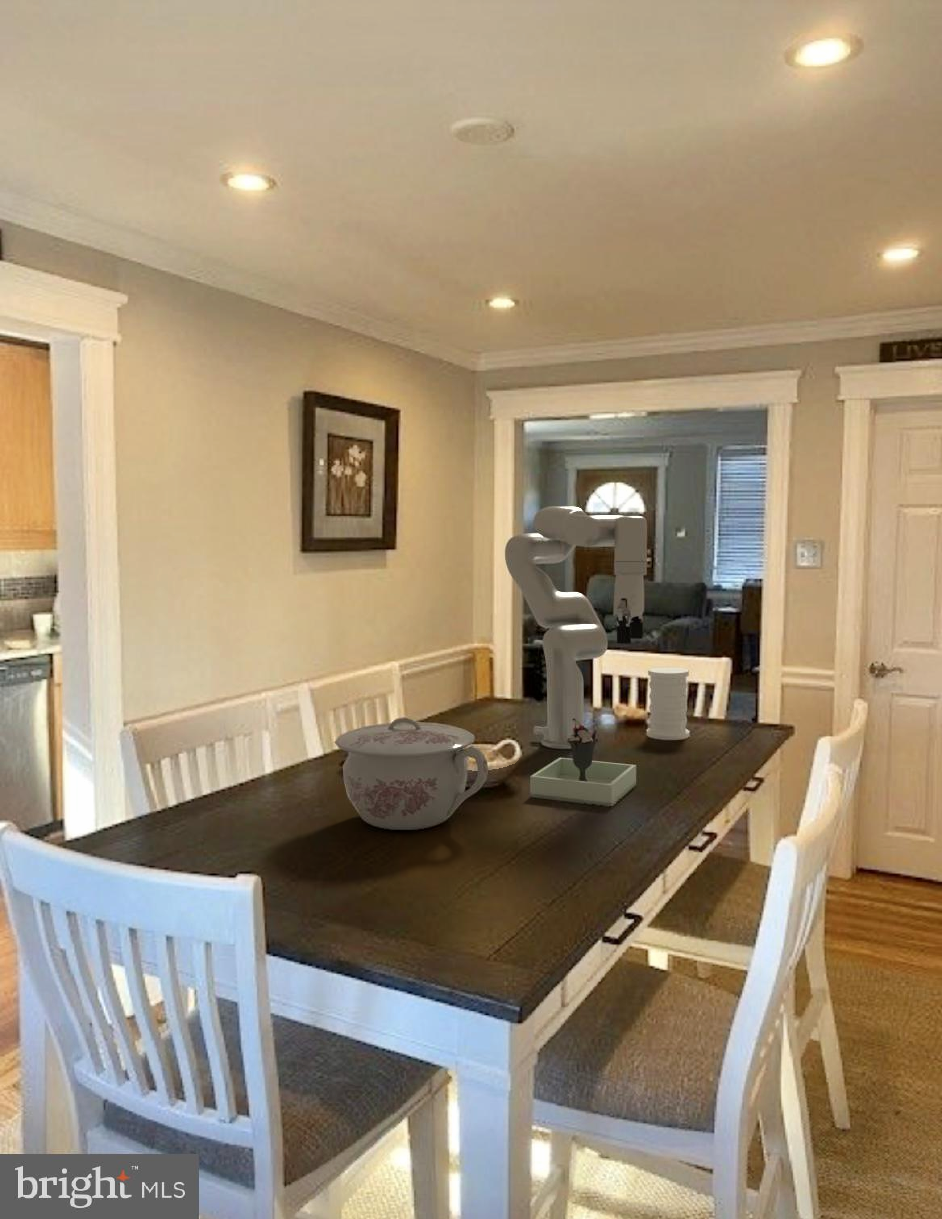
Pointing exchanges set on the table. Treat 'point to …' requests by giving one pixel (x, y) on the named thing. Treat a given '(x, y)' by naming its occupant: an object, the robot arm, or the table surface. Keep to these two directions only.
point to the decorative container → (668, 703)
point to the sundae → (582, 748)
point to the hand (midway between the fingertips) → (630, 640)
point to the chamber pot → (409, 772)
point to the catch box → (583, 782)
